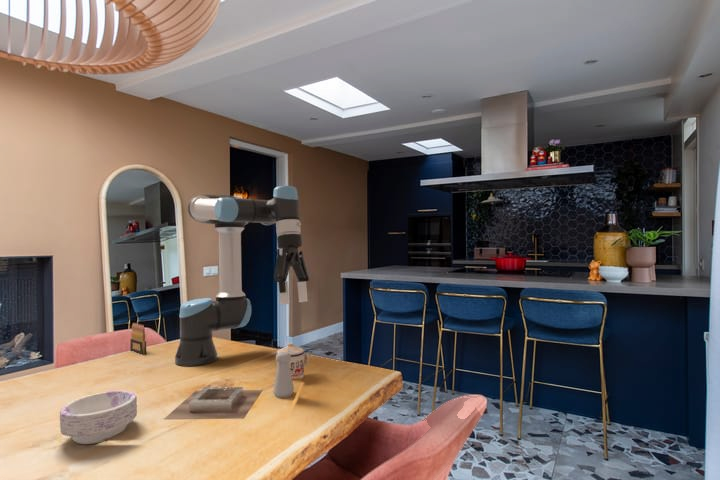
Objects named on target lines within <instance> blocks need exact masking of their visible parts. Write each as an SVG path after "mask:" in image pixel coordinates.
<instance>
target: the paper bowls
mask: <svg viewBox="0 0 720 480" xmlns="http://www.w3.org/2000/svg"><path fill="white" fill-rule="evenodd" d="M137 398H138V397H137V395H136V394H135V393H134V392H132V391H129V390H110V391H103V392H98V393H94V394H89V395H85V396H82V397H79V398H76V399H74V400H72V401H70V402H68V403H66V404H65V405H64V406H62V408H61V409H60V411H59V428H60V429H59V430H60V434H62V435H63V436H65V437H66V436H67V437H70V438H71V439H72V440H73V441H74V442H75V443H77V444H80V445H81V444H82V445H90V444H91V445H93V444H99V443H104V442H106V441H108V438H111V437H115V436H116V435H118V434H121V433H122V432H123V431H125V430H126V428H127V426H128V424H130V423H132V422H133V421H134V420H135V419H136V417H137V414H138V409H137V408H138V404H137V402H138V401H137V400H138V399H137Z"/></svg>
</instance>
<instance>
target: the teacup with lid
mask: <svg viewBox="0 0 720 480" xmlns="http://www.w3.org/2000/svg"><path fill="white" fill-rule="evenodd" d="M280 352H289V353H290V354H291V360H290V361H289V367H290V372H291V377H292V380H294V379H304V378H305V374H304V373H305V372H304V371H305V367H306V365H307V364H308V362H309V355H308V353H306V352H305V350H304V349H303V348H302V347H298V346H297V345H295V344H294V342H288V343H287V345H284V347H282V348H279V349H278V350H277V351H276V355H277V354H278V353H280ZM276 363H277V365H278V362H277V361H276ZM277 365H276V366H277Z"/></svg>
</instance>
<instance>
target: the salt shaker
mask: <svg viewBox="0 0 720 480" xmlns="http://www.w3.org/2000/svg"><path fill="white" fill-rule="evenodd" d="M290 360H291V354H290V353H289V352H280V353H278V354H277V353H276V355H275V361H276V363H277V362H278V365H276V366H277V367H276V370H275V372H276V373H275V378H274V383H273V390H272V391H273V394H274V397H276V398H279V399H280V398H281V399H283V398H286V399H287V398H288V397H292V396H293V393H294V391H295V390H294V389H295V388H294V383H293V379H292V377H291V372H290V367H289V361H290Z"/></svg>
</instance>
